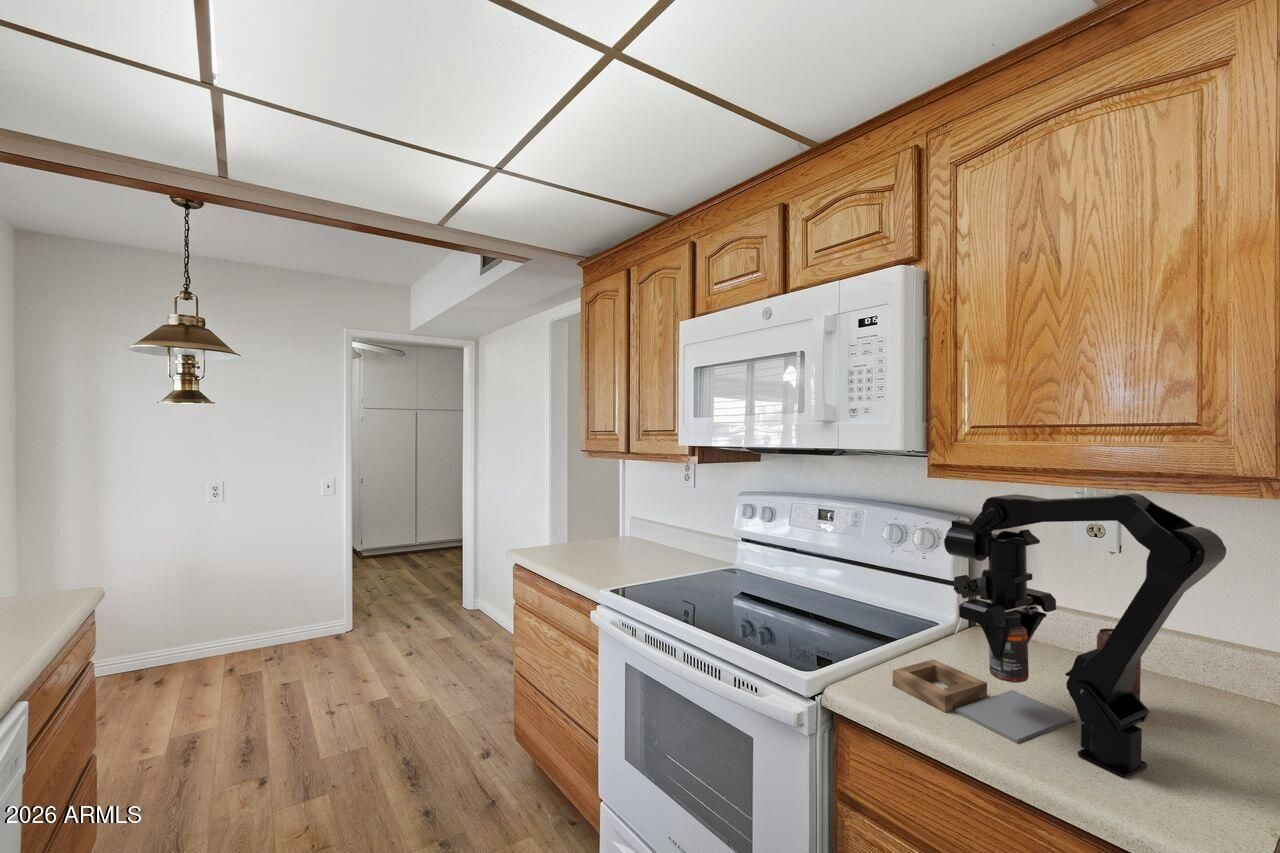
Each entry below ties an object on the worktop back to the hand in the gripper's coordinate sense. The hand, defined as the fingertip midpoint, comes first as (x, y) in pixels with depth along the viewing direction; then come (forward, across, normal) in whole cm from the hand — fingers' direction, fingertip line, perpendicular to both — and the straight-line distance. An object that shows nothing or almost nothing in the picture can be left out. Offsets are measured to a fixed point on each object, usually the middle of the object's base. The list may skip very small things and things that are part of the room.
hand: (1008, 654), depth 105 cm
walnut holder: (+10, +4, -11) cm, 16 cm away
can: (+11, -18, +8) cm, 23 cm away
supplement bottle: (+4, 0, 0) cm, 4 cm away
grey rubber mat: (+11, 0, +1) cm, 11 cm away
